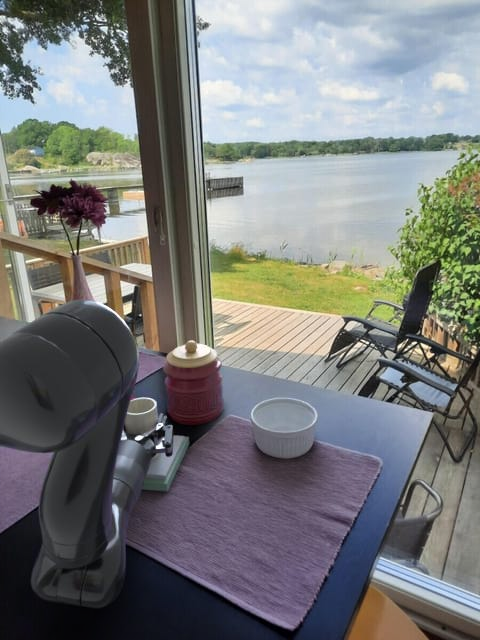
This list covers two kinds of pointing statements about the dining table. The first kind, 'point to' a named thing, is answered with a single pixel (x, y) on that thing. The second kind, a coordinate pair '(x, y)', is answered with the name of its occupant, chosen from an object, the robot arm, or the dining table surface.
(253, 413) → the ramekin
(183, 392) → the kitchen canister
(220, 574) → the dining table surface
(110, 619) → the dining table surface
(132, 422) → the cup
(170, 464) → the scale
